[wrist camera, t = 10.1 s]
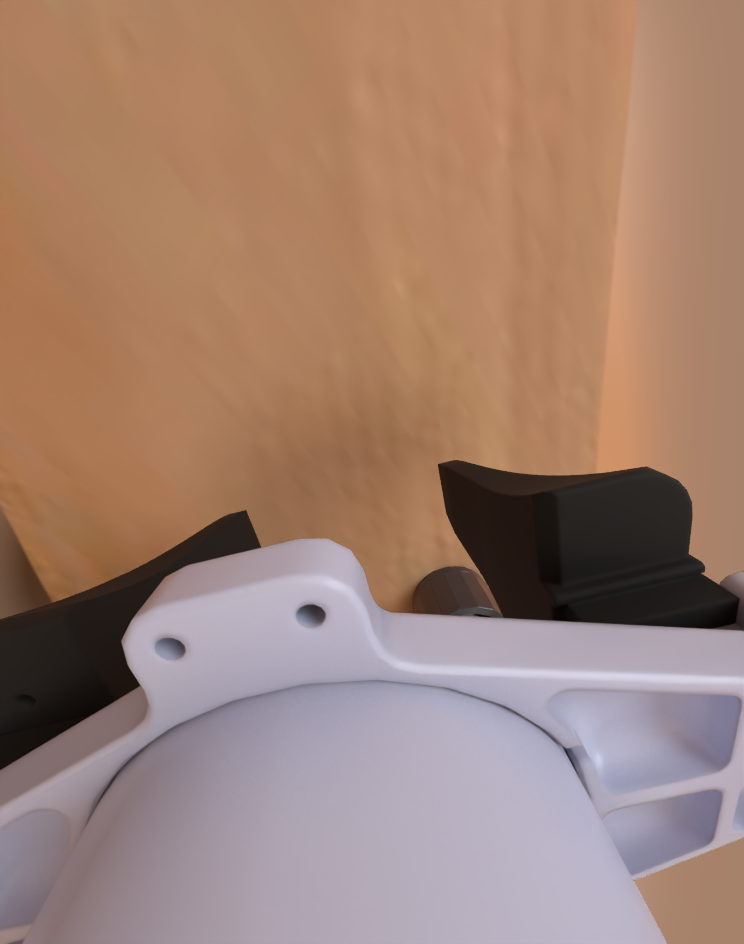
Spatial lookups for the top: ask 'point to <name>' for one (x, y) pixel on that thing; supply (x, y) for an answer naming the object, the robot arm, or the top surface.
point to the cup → (455, 594)
